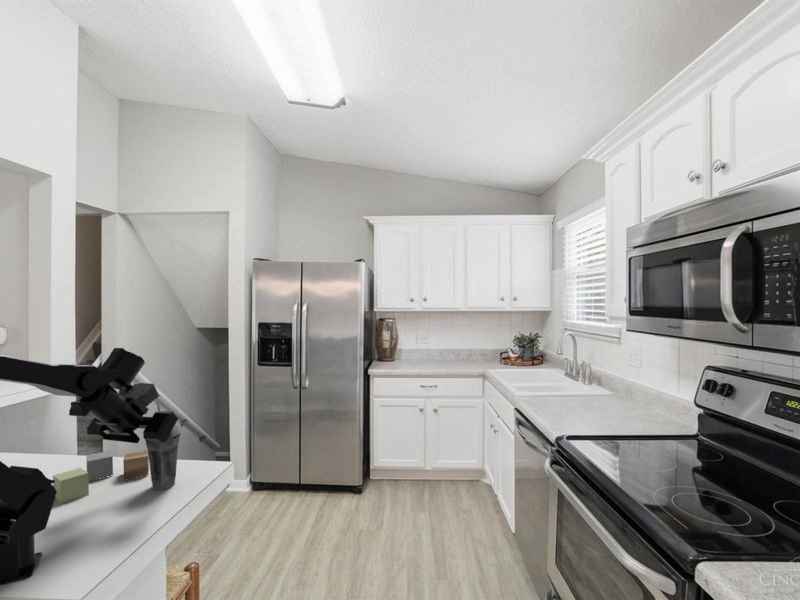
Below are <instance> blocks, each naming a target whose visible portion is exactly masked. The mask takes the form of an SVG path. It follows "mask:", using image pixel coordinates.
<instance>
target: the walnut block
mask: <svg viewBox="0 0 800 600" xmlns="http://www.w3.org/2000/svg"><path fill="white" fill-rule="evenodd" d="M122 461H123V463H122V464H123V481H127V480H126V479H129V480H132V479H131V478H134V479H137V478H136V477H139V478H142V477H141V476H145V477H147V476H146V475H148V476H149V472H150V464H149V455H148V449H146V450H140V451H139V450H137V451H133V452H126V453H125V454H124V457H123V460H122Z"/></svg>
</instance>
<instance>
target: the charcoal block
mask: <svg viewBox="0 0 800 600" xmlns="http://www.w3.org/2000/svg"><path fill="white" fill-rule="evenodd" d="M113 462H114V459H113V453H112V450H107V451H102V452H97V453H92V454H88V455H86V472H88V478H89V481H90V482H93V480H94V481H97V480H96V479H98V480H100V479H99V478H103V477H107V476H111V475H113V476H114V468H113V467H114V466H113V465H114V463H113ZM111 477H112V476H111ZM107 478H108V477H107ZM103 479H104V478H103Z"/></svg>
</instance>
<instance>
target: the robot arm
mask: <svg viewBox="0 0 800 600" xmlns="http://www.w3.org/2000/svg"><path fill="white" fill-rule="evenodd" d="M145 364H146V361H145V360H144V358H143V357H142V356H141V355H137V354H135V353H133V352H131V351H128V350H126V349H125V348H124V347H113V349H112V350H111V352H110V353H109V356H108V357H107V358H106V360H105V361H104V362H103V364H102V365H101V366H100V367H97V366H94V365H90V364H89V365H87V364H62V363H61V364H58V363H57V364H56V363H55V364H53V363H52V364H51V363H45V362H39V361H36V360H31V359H30V360H29V359H23V358H19V357H13V356H9V355H3V354H0V382H1V381H2V382H9V383H15V384H21V385H22V384H23V385H29V386H32V387H34V388H37V389H39V390H40V391H43V392H45V393H48V394H52V395H55V396H58V397H60V396H61V397H77V399H76V400H75V401H71V402H70V408H69V412H68V415H69V416H70V417H81V418H82V417H83V418H84V417H87V415H88V414H90V415H91V416H93V417H94V418H92V420H91V422H90V423H89V425H87V427H86V434H87V435H88V436H90V437H91V438H93V439H99V440H104V441H113V442H121V443H122V442H123V443H131V444H139V442H140V441H141V439H140V436H138V435H137V433H136V432H135V431H136V430H137V429H144V430H143V433H142V434H143V437H142V438H143V439H144V441H145V440H147V441H149V443H154V444H161V445H168V446H172V445H173V443H174V439H173V436H172V433H171V431H172V429H173V427H174V425H175V424H176V423H177V421H178V420H179V415H178V414H176V413H175V412H174V411H169V410H167V411H166V410H160V411H158V410H157V411H155V412H154V413H153V415H152V416H144V415H147V413H148V411H149V408H148V407H149V405H150V404H151V403H153V402H154V401H155V400H157V399H158V398H159V397H160V394H159V393H158V389H157V387H156V386H155V383H152V382H151V383H149V382H148V383H147V382H145V383H144V382H141V383H133V384H132V382H133V381H134V380H135V379H136V377H137V375H138V374H139V373H140V371H142V368H143V367H144V365H145ZM117 390H118V391H117ZM54 482H55V480H53V479H50V478H48V477H47V476H46V475H45V473H44V472H42V471H41V470H40V469H39V468H36V467H26V466H18V465H11V466H8V465H6V464H5V463H4V462H3V461H1V460H0V585H1V584H6V583H9V582H14V581H18V580H21V579H25V578H28V577H31V576H33V575H34V572H35V570H36V568H37V567H38V564H39V562H40V561H41V558H42V557H43V552H41V551H40V552H39V551H38V552H35V551H36V549H35V545H36V544H35V543H36V542H35V535H36V534H38V533H39V532H42V531H44V530H45V529H47V526H48V522H49V518H50V516H51V514H52V513H51V512H52V509H53V506H54V502H55V501H56V499H55V496H56V494H57V491H56V488H55V487H54V486H53V483H54Z"/></svg>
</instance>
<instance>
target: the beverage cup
mask: <svg viewBox="0 0 800 600" xmlns="http://www.w3.org/2000/svg"><path fill="white" fill-rule="evenodd" d="M160 403H161V402H160V400H158V401H156V406H157V412H158V411H161V404H160ZM171 433H172V436H173V439H174V443H173V445H172V446H168V445H161V444H154V443H149V441H147V440H145V439H144V441H145V445H146V450H148V455H149V472H150V478H151V479H150V480H151V484H152V489H153V490H154V489H155V490H154V491H163V489H164V490H167V489H170V488H172V487H174V486H175V484H176V477H177V465H178V453H179V452H178V451H179V443H180V439H181V438H180V437H181V432H180V426H179V424H178V423H177V422H176V424H175V425H174V427H173V429H172V431H171ZM173 485H174V486H173ZM171 486H172V487H171ZM169 487H170V488H169ZM166 488H167V489H166Z"/></svg>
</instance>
